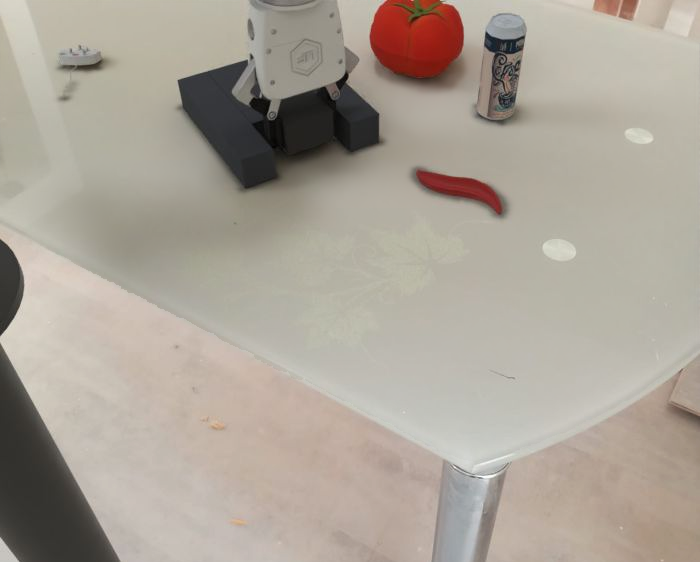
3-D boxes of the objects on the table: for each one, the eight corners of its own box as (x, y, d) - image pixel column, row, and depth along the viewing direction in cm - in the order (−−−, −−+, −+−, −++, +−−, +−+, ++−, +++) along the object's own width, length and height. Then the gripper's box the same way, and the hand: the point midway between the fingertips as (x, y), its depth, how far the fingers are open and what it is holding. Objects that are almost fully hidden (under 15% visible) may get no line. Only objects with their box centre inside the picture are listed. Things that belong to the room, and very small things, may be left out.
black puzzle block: (288, 155, 90) (285, 125, 87) (262, 124, 94) (258, 95, 91) (334, 140, 92) (332, 110, 89) (305, 110, 96) (303, 81, 93)
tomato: (486, 66, 106) (494, 2, 100) (425, 102, 101) (429, 37, 94) (412, 32, 113) (414, -29, 106) (351, 64, 107) (349, 1, 101)
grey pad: (245, 188, 89) (240, 159, 86) (182, 107, 101) (177, 79, 98) (379, 142, 95) (379, 113, 92) (305, 70, 106) (303, 42, 103)
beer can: (494, 127, 96) (506, 34, 87) (468, 111, 99) (477, 19, 90) (521, 114, 98) (536, 21, 89) (495, 98, 101) (507, 7, 92)
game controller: (101, 51, 111) (96, 33, 109) (107, 92, 104) (102, 74, 102) (61, 57, 110) (55, 39, 108) (64, 99, 103) (58, 81, 101)
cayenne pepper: (513, 205, 86) (516, 191, 85) (485, 224, 84) (487, 210, 83) (436, 159, 92) (437, 145, 91) (408, 175, 90) (409, 161, 89)
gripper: (225, 16, 74) (248, 173, 87) (381, -26, 79) (380, 128, 92) (196, -13, 78) (222, 140, 92) (345, -52, 83) (349, 99, 97)
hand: (301, 132), depth 92 cm, fingers closed on black puzzle block, 6 cm apart
